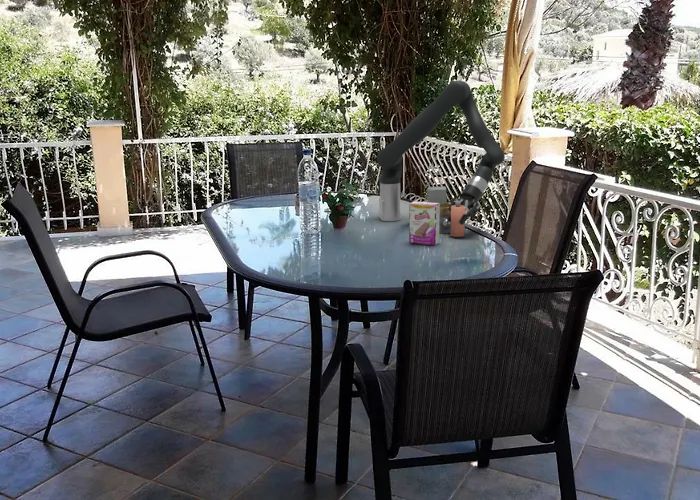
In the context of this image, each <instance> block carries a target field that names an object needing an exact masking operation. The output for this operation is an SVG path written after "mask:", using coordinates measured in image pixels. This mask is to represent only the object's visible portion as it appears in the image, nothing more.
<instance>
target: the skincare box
mask: <svg viewBox="0 0 700 500" xmlns="http://www.w3.org/2000/svg"><path fill="white" fill-rule="evenodd" d="M427 202H429V203H448V202H447V187H446V185H445V186H427Z"/></svg>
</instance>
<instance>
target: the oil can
mask: <svg viewBox="0 0 700 500" xmlns="http://www.w3.org/2000/svg"><path fill="white" fill-rule="evenodd" d="M464 212H465V206H463V205H461V202H460V201H456V205H453V206H451V232H450V236H451V237H454V238H463V237H464V236H465V229H466V228H465V226H466V224H465V223H466V222H465V223H464V224H463V225H461V224H460V223H459V221H460V219H461V217H462V216H463V215H464Z"/></svg>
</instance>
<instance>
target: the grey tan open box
mask: <svg viewBox="0 0 700 500" xmlns="http://www.w3.org/2000/svg"><path fill="white" fill-rule="evenodd" d="M450 204H451V202H447V203H440V213H439V234H448V233H450V234H451V222H449V221H448V219H447V218H448V216H449V214H450V213H451V212H450V211H449V210H448V208H449V206H450Z"/></svg>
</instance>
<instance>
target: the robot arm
mask: <svg viewBox="0 0 700 500" xmlns="http://www.w3.org/2000/svg"><path fill="white" fill-rule="evenodd" d="M456 105H458V107H459V108H460V109H461V112H462V113H463V115H464V117H465V120H466V123H467V127H468V129H469V132H470V134H471V137H472V138H473V141H474V142H475V144H476V146H477V147H478V148H480V149H483V150H484V152H485V153H484V155H483V156H482V157H481V159H480V162H479V164H478V167H477V168H476V170H475V172H474V173H473V174H472V176H471V178H470V179H469V180H468V182H467V184H466V186H465V187H464V188H463V190H462V191H461V196H460V197H459V198H458V199H456V198H455V197H453V198H452V199H451V202H450V203H451V204H450V206H449V208H448V210H449V211H450V212H451V206H453V205H456V201H460V202H461V205H463V206H465V212H464V215H463V216H462V217H461V219H460V221H459V223H460V224H461V225H463V224H464V223H466V222H467V220H468V218H470V217H471V218H474V216H476V214H477V213H478V211H480V209H481V208H482V206H481V204H480V203H479V202H480V199H481V197H482V195H484V193H485V190H486V189H487V187H488V184H489V183H490V181H491V179H492V178H493V175H494V174H493V172H494V170H495V169H496V167H497V166H499V165H500V164H502V163H503V162H504V160H505V156H506V155H505V152H504V150H503V148H502V147H501V145H500V144H499V143H498V142H497V141H496V140H495V139H494V138H493V136H492V134H491V132H490V130H489V128H488V126H487V125H486V123H485V121H484V119H483V117H482V115H481V114H480V110H479V109H478V107H477V103H476V101H475V98H474V95H473V93H472V89H471V86H470V85H469V83H467V82H466V81H463V80H454V81H451V82H450V83H448V84H447V85H446V86H445V88H444V89H443V90H442V91H441V92H440V94H439V95H438V96H437V97H436V98H435V99H434V100H433V101H432V103H430V104H429V105H427V107H425V108H424V109H423V110H422V111H421V112H420V113H419V114H418V115H417V116H416V117H415V118H414V119H412V120H411V121H410V122H409V123H408V124H407V126H406V127H405V128H404V129H403V130H402V131H401V132H400V133H399V134H398V136H397V137H396V138H395V139H394V140H393V141H391V142H390V143H389V144H387V145H386V146H384V148H382V149H380V151H378V154H377V156H376V157H377V158H376V161H377V164H378V166H379V167H380V168H382V171H381V175H380V177H379V194H380V195H379V198H378V205H379V207H378V209H379V211H378V214H379V215H378V216H379V220H380V221H381V222H397V221H400V220H401V215H402V214H401V178H402V172H403V169H402V168H403V165H402V164H403V158H402V157H403V155H404V154H405V153H406V152H408V151H409V150H410V149H412V148H413V147H414V146H416V145H417V144H419V143H420V142H422V141H423V140H424V139H425V138H427V137H428V136H429V135H430V134H431V133H432V132H433V131H434V130H435V128H437V126H438V125H439V124H440V122H441V120H442V119H443V117H444V116H445V115H446V114H447V113H448V111H450V110H451V109H452V108H454V107H455V106H456ZM447 219H448V221H449V222H451V213H450V214H449V216H448V218H447Z"/></svg>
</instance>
